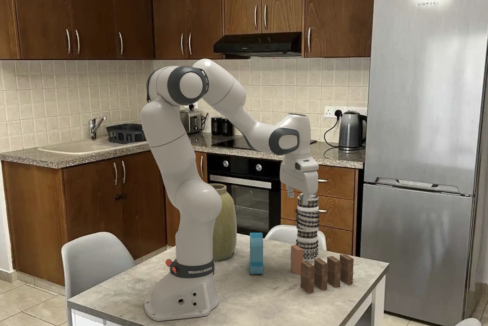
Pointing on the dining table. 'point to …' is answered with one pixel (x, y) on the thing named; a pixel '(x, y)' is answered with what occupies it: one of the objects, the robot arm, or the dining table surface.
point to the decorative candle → (308, 227)
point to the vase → (224, 226)
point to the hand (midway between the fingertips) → (297, 200)
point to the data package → (256, 253)
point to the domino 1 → (296, 259)
